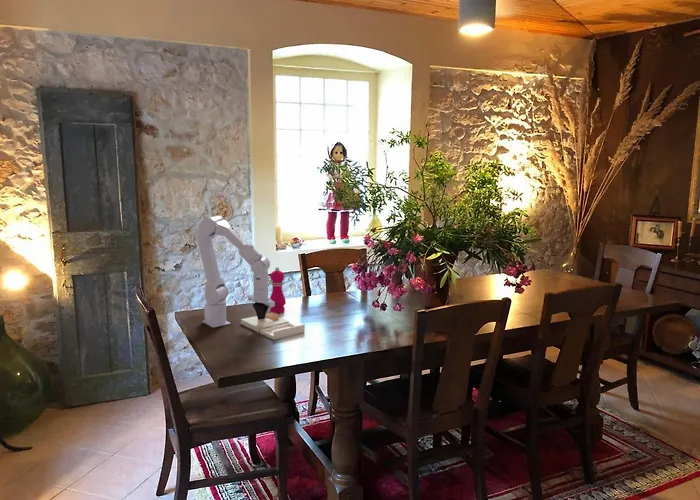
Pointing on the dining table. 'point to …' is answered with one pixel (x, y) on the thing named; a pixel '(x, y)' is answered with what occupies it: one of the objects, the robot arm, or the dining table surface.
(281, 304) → the pepper mill
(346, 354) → the dining table surface
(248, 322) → the board
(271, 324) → the tile cream
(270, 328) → the tray
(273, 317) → the tile terracotta
